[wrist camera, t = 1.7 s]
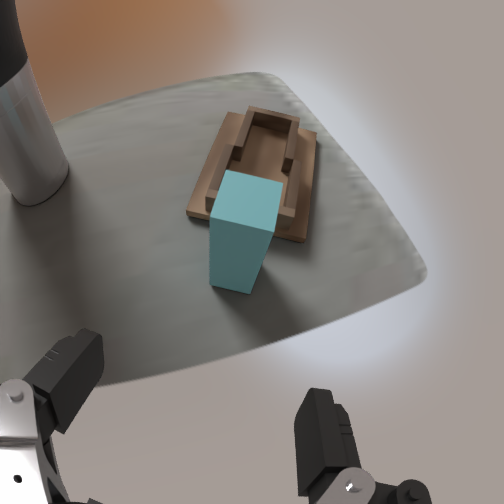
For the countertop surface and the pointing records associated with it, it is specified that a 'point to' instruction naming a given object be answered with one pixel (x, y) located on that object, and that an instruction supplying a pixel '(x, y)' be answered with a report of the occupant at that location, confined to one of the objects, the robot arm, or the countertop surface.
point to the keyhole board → (262, 165)
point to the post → (241, 229)
